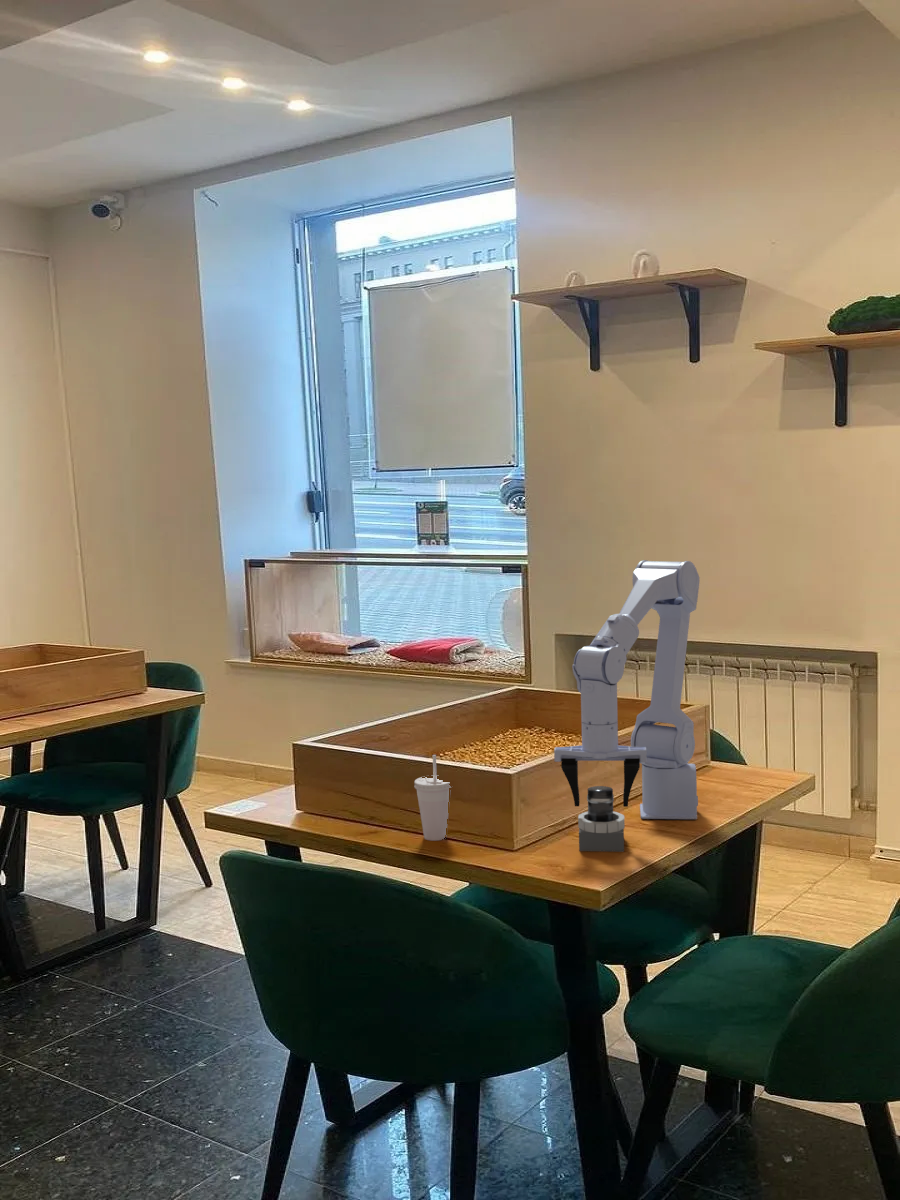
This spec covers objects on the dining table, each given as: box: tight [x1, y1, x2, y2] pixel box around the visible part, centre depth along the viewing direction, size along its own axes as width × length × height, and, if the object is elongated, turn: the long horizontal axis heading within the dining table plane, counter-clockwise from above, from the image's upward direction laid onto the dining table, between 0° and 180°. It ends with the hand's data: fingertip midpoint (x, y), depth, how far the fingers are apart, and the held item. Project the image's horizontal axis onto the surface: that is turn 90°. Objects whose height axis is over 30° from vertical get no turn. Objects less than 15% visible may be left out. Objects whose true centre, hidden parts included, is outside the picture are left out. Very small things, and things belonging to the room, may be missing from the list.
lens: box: [586, 785, 615, 822], centre depth 181 cm, size 4×4×6 cm
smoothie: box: [413, 754, 452, 842], centre depth 187 cm, size 6×6×14 cm
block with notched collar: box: [577, 811, 626, 853], centre depth 181 cm, size 7×7×4 cm
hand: (601, 804), depth 181 cm, fingers open, 7 cm apart
